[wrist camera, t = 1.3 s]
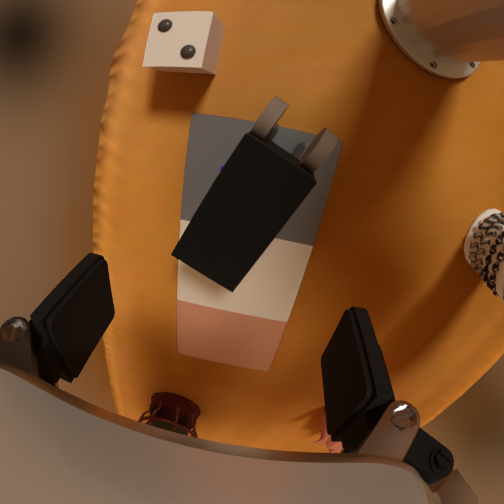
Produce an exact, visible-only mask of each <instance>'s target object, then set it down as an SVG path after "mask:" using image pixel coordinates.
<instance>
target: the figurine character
mask: <svg viewBox="0 0 504 504" xmlns="http://www.w3.org/2000/svg"><path fill="white" fill-rule="evenodd" d="M288 106H289V104H287V103H286V102H284V101H283V100H281V99H280V98H278V97H276V96H275V97H274V98H273V100H272V101H271V102H270V103H269V104H268V106H267V107H266V108H265V110H264V111H263V112H262V114H261V115H260V117H259V118H258V120H257V121H256V123H255V124H254V126H253V127H252V129H251V131H250V132H248V133H245V135H244V136H243V138H242V139H241V141H240V142H239V144H238V145H237V147H236V148H235V150H234V151H233V153H232V154H231V156H230V157H229V159H228V160H227V162H226V164H225V165H224V166H222V167H221V169H220V173H219V174H218V176H217V178H216V179H215V181H214V182H213V184H212V186H211V187H210V189H209V191H208V192H207V194H206V195H205V197H204V199H203V200H202V202H201V204H200V205H199V207H198V209H197V210H196V212H195V214H194V215H193V217H192V219H191V221H190V222H189V224H188V226H187V227H186V229H185V231H184V233H183V234H182V236H181V238H180V240H179V241H178V243H177V245H176V247H175V249H174V250H173V252H172V254H171V255H172V256H174V257H175V258H177V259H179V260H180V261H182V262H183V263H185V264H187V265H188V266H190V267H191V268H193V269H194V270H196V271H198V272H199V273H201V274H203V275H204V276H206V277H207V278H209V279H211V280H212V281H214V282H216V283H217V284H219V285H221V286H222V287H224V288H226V289H227V290H229V291H231V292H233V291H234V290H235V289H236V287H237V286H238V285H239V284H240V282H241V281H242V280H243V278H244V277H245V276H246V275H247V273H248V272H249V271H250V269H251V268H252V267H253V266H254V264H255V263H256V262H257V260H258V259H259V258H260V256H261V255H262V254H263V253H264V251H265V250H266V249H267V247H268V246H269V245H270V244H271V242H272V241H273V240H274V238H275V237H276V236H277V234H278V233H279V232H280V231H281V229H282V228H283V227H284V225H285V224H286V223H287V221H288V220H289V219H290V218H291V216H292V215H293V214H294V212H295V211H296V210H297V208H298V207H299V206H300V205H301V203H302V202H303V201H304V199H305V198H306V197H307V195H308V194H309V193H310V191H311V190H312V189H313V187H314V186H315V185H316V184H317V181H316V180H315V177H314V174H313V172H315V171H316V170H317V169H318V168H319V167H320V166H321V165H322V164H323V163H324V161H325V160H326V159H327V158H328V156H329V155H330V154H331V152H332V151H333V149H334V147H335V146H336V144H337V141H338V137H337V136H336V135H334V134H333V133H332V132H330V131H329V130H328V129H326V128H324V129H323V130H322V131H321V132H320V133H319V134H318V135H317V136H316V138H315V139H314V140H313V141H312V143H311V144H310V145H309V147H308V148H307V150H306V151H305V153H304V154H303V156H302V157H301V159H300V160H299V159H298V158H299V157H300V156H301V154H302V153H303V151H304V150H305V141H304V142H301V143H298V144H297V146H296V147H295V149H294V150H293V152H292V153H291V154H290V153H289V152H287V151H286V150H284V149H283V148H281V147H280V146H278V145H277V144H276V143H274V142H273V141H272V139H273V138H274V136H275V135H276V133H277V132H278V124H276V123H277V121H278V120H279V119H280V117H281V116H282V114H283V113H284V112H285V110H286V109H287V107H288ZM275 124H276V125H275Z"/></svg>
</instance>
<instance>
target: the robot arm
mask: <svg viewBox="0 0 504 504" xmlns="http://www.w3.org/2000/svg"><path fill="white" fill-rule="evenodd" d="M378 2H379V11H380V14H381V17H382V21H383V23H384V25H385V27H386V29H387V31H388V33H389V34H390V36H391V37H392V39H393V41H394V42H395V43H396V44H397V46H398V47H399V48H400V49H401V50H402V52H403V53H404V54H405V55H406V56H408V57H409V58H410V59H411V60H412V61H413V62H414V63H416V64H417V65H418V66H420V67H421V68H423V69H424V70H426V71H428V72H430V73H432V74H434V75H437V76H439V77H444V78H449V79H450V78H463V77H467V76H469V75H471V74H472V73H474V72H475V71H476V70H477V68H478V66H479V65H480V63H481V61H500V60H504V0H379V1H378ZM390 21H391V22H392V23H393V24H392V23H391V22H390ZM430 64H431V65H430ZM114 314H115V310H114V304H113V298H112V292H111V286H110V279H109V272H108V264H107V261H106V260H104V257H103V256H101V255H98V254H94V253H89V254H88V255H87V256H86V257H85V258H84V259H83V260H82V261H81V262H79V264H77V266H75V268H73V269H72V271H71V272H70V273H69V274H68V275H67V276H66V277H65V278H64V279H63V280H62V281H61V282H60V283H59V284H58V285H57V286H56V288H54V289H53V290H52V292H51V293H50V294H49V295H48V296H47V297H46V298H45V299H44V300H43V301H42V303H41V304H40V305H39V306H38V307H37V308H36V309H35V311H34V312H33V313H32V314H31V315H30V317H31V320H30V321H29V322H28V321H27V319H25V318H24V317H19V316H18V317H13V318H10V319H8V320H7V321H5V322H4V323H3V324H2V326H1V328H0V504H478V502H477V501H478V500H477V497H476V495H475V493H474V492H473V490H472V489H471V488H470V486H469V485H468V483H467V482H466V481H465V479H464V478H463V477H462V475H461V474H460V472H459V471H458V470H457V469H455V470H453V466H454V464H453V463H454V460H453V455H452V454H451V452H450V451H449V450H448V449H447V448H446V447H445V446H444V445H442V444H441V443H440V442H438V441H437V440H435V439H434V438H433V437H431V436H430V435H429V434H427V433H426V432H425V431H423V430H422V429H421V428H420V427H419V426H420V415H419V413H418V411H417V409H416V408H415V407H414V406H413V405H412V404H411V403H408V402H406V401H402V400H399V401H395V397H394V393H393V389H392V386H391V382H390V378H389V375H388V371H387V368H386V364H385V361H384V357H383V354H382V351H381V348H380V346H379V345H378V342H377V339H376V336H375V333H374V330H373V326H372V323H371V320H370V317H369V315H368V312H367V310H366V309H365V308H359V307H351V308H350V309H349V310H345V312H344V314H343V316H342V318H341V320H340V322H339V324H338V326H337V328H336V330H335V332H334V334H333V336H332V338H331V339H330V341H329V343H328V345H327V347H326V349H325V351H324V353H323V355H322V358H321V368H322V378H323V388H324V400H325V413H326V427H327V434H328V435H331V442H342V448H343V449H342V450H341V452H340V453H312V452H293V451H279V450H268V449H259V448H251V447H244V446H237V445H231V444H225V443H220V442H214V441H209V440H204V439H200V438H195V437H191V436H187V435H183V434H179V433H175V432H171V431H167V430H164V429H160V428H157V427H154V426H150V425H147V424H144V423H141V422H138V421H135V420H132V419H129V418H127V417H124V416H121V415H118V414H115V413H113V412H110V411H108V410H105V409H103V408H100V407H98V406H96V405H93V404H91V403H89V402H86V401H84V400H82V399H80V398H78V397H76V396H73V395H71V394H69V393H67V392H65V391H63V390H61V389H59V386H58V380H59V379H60V378H61V379H64V380H65V381H67V382H69V383H71V382H72V381H73V379H74V378H77V377H78V375H79V374H80V372H81V370H82V369H83V367H84V365H85V364H86V362H87V360H88V359H89V357H90V355H91V353H92V352H93V350H94V349H95V347H96V345H97V344H98V342H99V340H100V338H101V337H102V335H103V334H104V332H105V331H106V329H107V328H108V326H109V324H110V323H111V321H112V320H113V318H114Z"/></svg>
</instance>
